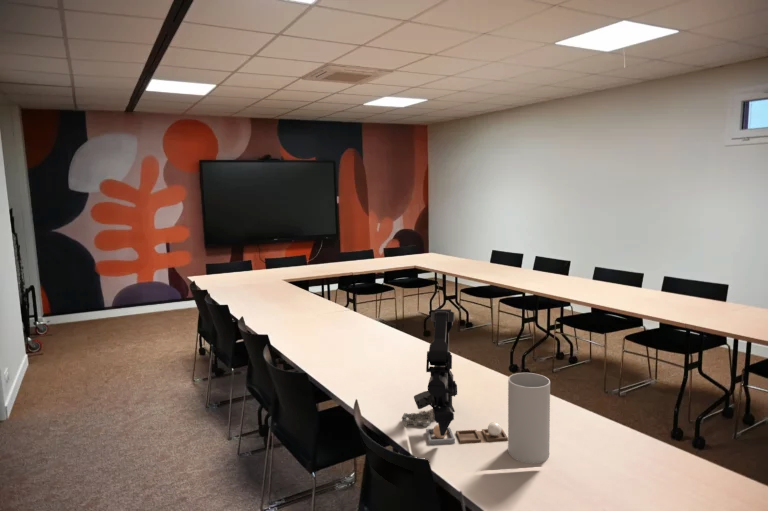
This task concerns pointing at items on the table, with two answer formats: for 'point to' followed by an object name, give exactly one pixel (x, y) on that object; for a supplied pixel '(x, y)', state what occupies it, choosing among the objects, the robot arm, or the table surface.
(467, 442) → the rack
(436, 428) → the egg brown
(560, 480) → the table surface
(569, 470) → the table surface
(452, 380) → the robot arm
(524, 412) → the cylinder vase
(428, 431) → the dish
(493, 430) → the white smooth ball
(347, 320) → the table surface
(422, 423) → the egg carton
